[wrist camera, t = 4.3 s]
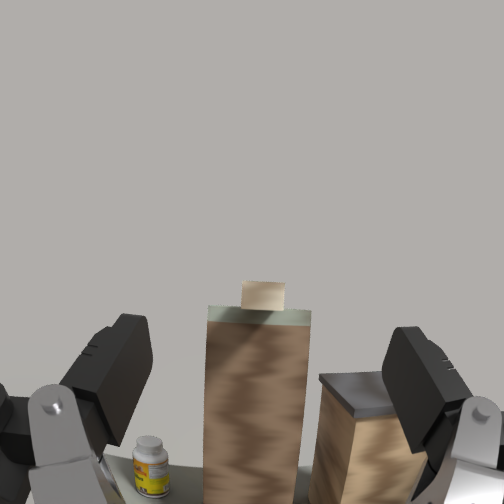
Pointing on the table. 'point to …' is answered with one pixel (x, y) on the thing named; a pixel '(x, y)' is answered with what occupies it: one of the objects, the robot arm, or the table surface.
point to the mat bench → (360, 444)
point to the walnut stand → (254, 404)
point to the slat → (262, 295)
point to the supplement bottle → (151, 467)
